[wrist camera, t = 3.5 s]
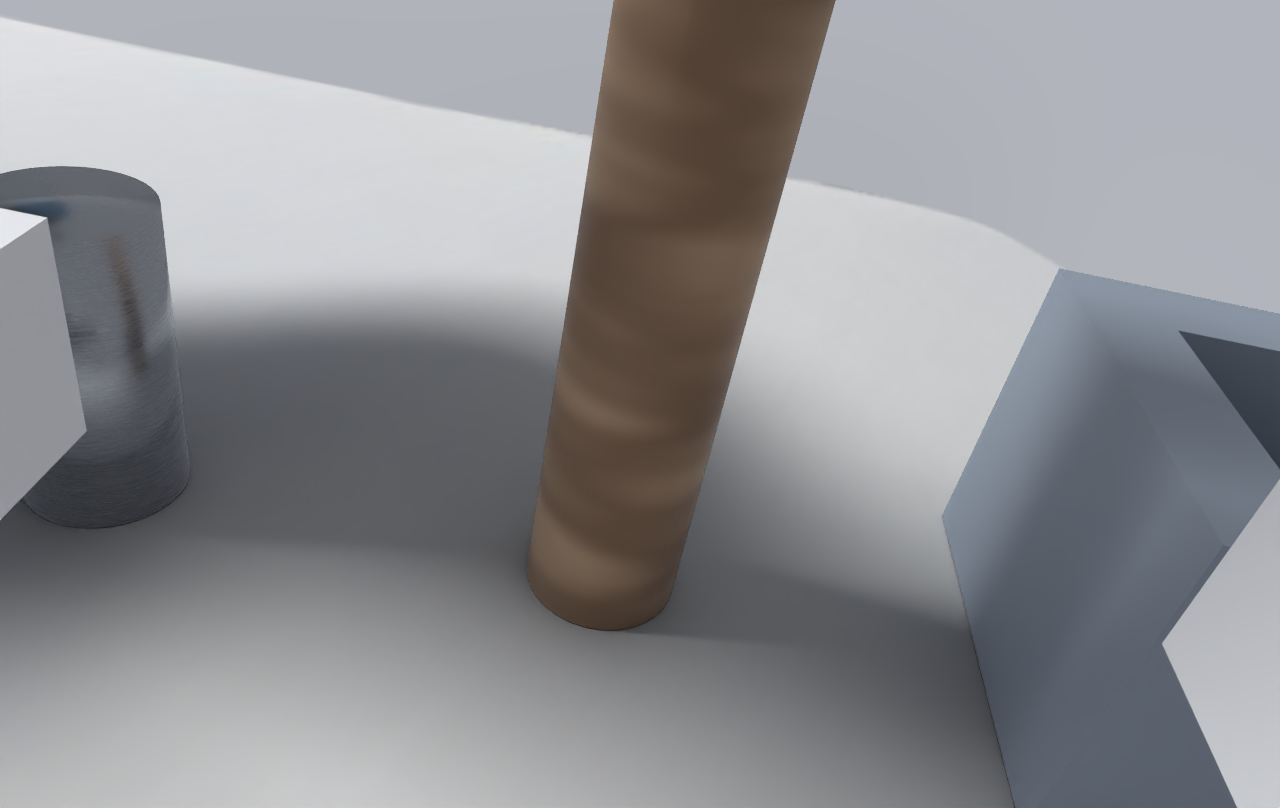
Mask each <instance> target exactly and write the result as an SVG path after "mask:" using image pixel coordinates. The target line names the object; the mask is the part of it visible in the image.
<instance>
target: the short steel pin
mask: <svg viewBox="0 0 1280 808" xmlns="http://www.w3.org/2000/svg"><path fill="white" fill-rule="evenodd" d="M0 208H2V209H7V210H12V211H17V212H22V213H27V214H32V215H37V216H42V217H47V219H48V224H49V230H50V235H51V241H52V246H53V251H54V257H55V262H56V268H57V273H58V278H59V284H60V289H61V295H62V300H63V305H64V311H65V316H66V322H67V327H68V332H69V338H70V343H71V349H72V354H73V359H74V365H75V370H76V376H77V381H78V387H79V392H80V397H81V403H82V408H83V414H84V419H85V424H86V430H87V431H86V432H85V433H84V434H83V435H82V436H81V437H80V438H79V439H78V441H77V442H76V443H75V444H74V445H73V446H72V447H71V448H70V449H69V450H68V451H67V452H66V453H65V454H64V455H63V456H62V457H61V458H60V459H59V460H58V461H57V462H56V463H55V464H54V465H53V466H52V467H51V468H50V469H49V470H48V471H47V472H46V474H45V475H44V476H43V477H42V478H41V479H40V480H39V481H38V482H37V483H36V484H35V485H34V486H33V487H32V488H31V489H30V490H29V491H28V492H27V493H26V494H25V495H24V496H23V498H24V501H25V502H26V504H27V506H28V507H29V508H30V509H31V510H32V511H33V512H34V513H36V514H37V515H38V516H40V517H42V518H44V519H45V520H47V521H50V522H53V523H56V524H59V525H63V526H69V527H76V528H103V527H112V526H117V525H123V524H127V523H130V522H134V521H137V520H140V519H143V518H145V517H147V516H150V515H152V514H154V513H156V512H158V511H159V510H161V509H163V508H164V507H166V506H167V505H169V504H170V503H171V502H172V501H174V500H175V499H176V498H177V497H178V496H179V495H180V494H181V492H182V491H183V490H184V488H185V487H186V485H187V482H188V480H189V476H190V462H189V453H188V444H187V435H186V426H185V418H184V409H183V400H182V391H181V382H180V373H179V364H178V355H177V346H176V337H175V328H174V320H173V311H172V302H171V293H170V284H169V275H168V266H167V257H166V248H165V239H164V230H163V221H162V213H161V204H160V199H159V196H158V195H157V193H156V192H155V191H154V190H153V189H152V188H151V187H150V186H148V185H147V184H145V183H144V182H142V181H140V180H138V179H135V178H133V177H130V176H127V175H124V174H121V173H117V172H113V171H108V170H102V169H95V168H87V167H69V166H56V167H38V168H29V169H22V170H16V171H11V172H6V173H2V174H0Z"/></svg>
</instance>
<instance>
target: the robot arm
mask: <svg viewBox="0 0 1280 808" xmlns="http://www.w3.org/2000/svg"><path fill="white" fill-rule="evenodd" d="M86 431H87V430H86V424H85V419H84V414H83V408H82V403H81V397H80V392H79V387H78V381H77V376H76V370H75V365H74V359H73V354H72V349H71V343H70V338H69V332H68V327H67V322H66V316H65V311H64V305H63V300H62V295H61V289H60V284H59V278H58V273H57V268H56V262H55V257H54V251H53V246H52V241H51V235H50V230H49V224H48V219H47V217H42V216H37V215H32V214H27V213H22V212H17V211H12V210H7V209H2V208H0V520H1V519H2V518H3V517H4V516H5V515H6V514H7V513H8V512H9V511H10V510H11V509H12V508H13V507H14V505H15V504H16V503H17V502H18V501H19V500H20V499H21V498H22V497H23V496H24V495H25V494H26V493H27V492H28V491H29V490H30V489H31V488H32V487H33V486H34V485H35V484H36V483H37V482H38V481H39V480H40V479H41V478H42V477H43V476H44V475H45V474H46V472H47V471H48V470H49V469H50V468H51V467H52V466H53V465H54V464H55V463H56V462H57V461H58V460H59V459H60V458H61V457H62V456H63V455H64V454H65V453H66V452H67V451H68V450H69V449H70V448H71V447H72V446H73V445H74V444H75V443H76V442H77V441H78V439H79V438H80V437H81V436H82V435H83V434H84V433H85V432H86ZM1162 645H1163V647H1164V649H1165V651H1166V654H1167V656H1168V658H1169V660H1170V662H1171V665H1172V667H1173V669H1174V671H1175V673H1176V675H1177V678H1178V680H1179V682H1180V684H1181V686H1182V688H1183V691H1184V693H1185V695H1186V697H1187V699H1188V702H1189V704H1190V706H1191V708H1192V710H1193V712H1194V715H1195V717H1196V719H1197V721H1198V723H1199V726H1200V728H1201V730H1202V732H1203V734H1204V736H1205V739H1206V741H1207V743H1208V745H1209V747H1210V749H1211V752H1212V754H1213V756H1214V758H1215V760H1216V763H1217V765H1218V767H1219V769H1220V771H1221V773H1222V776H1223V778H1224V780H1225V782H1226V784H1227V786H1228V789H1229V791H1230V793H1231V795H1232V797H1233V800H1234V802H1235V804H1236V806H1237V808H1280V479H1279V481H1278V482H1277V484H1276V485H1275V486H1274V488H1273V489H1272V491H1271V492H1270V493H1269V495H1268V496H1267V498H1266V499H1265V500H1264V502H1263V503H1262V505H1261V506H1260V507H1259V509H1258V510H1257V512H1256V513H1255V514H1254V516H1253V517H1252V518H1251V520H1250V521H1249V523H1248V524H1247V525H1246V527H1245V528H1244V530H1243V531H1242V532H1241V534H1240V535H1239V537H1238V538H1237V539H1236V541H1235V542H1234V544H1233V545H1232V546H1231V548H1230V549H1229V551H1228V552H1227V553H1226V555H1225V556H1224V558H1223V559H1222V560H1221V562H1220V563H1219V565H1218V566H1217V567H1216V569H1215V570H1214V572H1213V573H1212V574H1211V576H1210V577H1209V579H1208V580H1207V581H1206V583H1205V584H1204V586H1203V587H1202V588H1201V590H1200V591H1199V593H1198V594H1197V595H1196V597H1195V598H1194V599H1193V601H1192V602H1191V604H1190V605H1189V606H1188V608H1187V609H1186V611H1185V612H1184V613H1183V615H1182V616H1181V618H1180V619H1179V620H1178V622H1177V623H1176V625H1175V626H1174V627H1173V629H1172V630H1171V632H1170V633H1169V634H1168V636H1167V637H1166V639H1165V640H1164V641H1163V643H1162Z"/></svg>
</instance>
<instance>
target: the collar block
mask: <svg viewBox="0 0 1280 808" xmlns="http://www.w3.org/2000/svg"><path fill="white" fill-rule="evenodd" d="M1279 479H1280V314H1278V313H1273V312H1268V311H1263V310H1258V309H1253V308H1248V307H1244V306H1238V305H1234V304H1229V303H1224V302H1219V301H1215V300H1210V299H1204V298H1200V297H1195V296H1190V295H1185V294H1181V293H1175V292H1171V291H1166V290H1161V289H1156V288H1151V287H1147V286H1141V285H1137V284H1132V283H1127V282H1122V281H1118V280H1113V279H1107V278H1103V277H1098V276H1093V275H1088V274H1083V273H1079V272H1074V271H1069V270H1064V269H1059V270H1058V272H1057V274H1056V277H1055V279H1054V281H1053V283H1052V285H1051V287H1050V289H1049V291H1048V293H1047V296H1046V298H1045V300H1044V302H1043V304H1042V306H1041V308H1040V310H1039V312H1038V315H1037V317H1036V319H1035V321H1034V323H1033V325H1032V327H1031V329H1030V331H1029V334H1028V336H1027V338H1026V340H1025V342H1024V344H1023V346H1022V348H1021V351H1020V353H1019V355H1018V357H1017V359H1016V361H1015V363H1014V365H1013V367H1012V370H1011V372H1010V374H1009V376H1008V378H1007V380H1006V382H1005V384H1004V386H1003V389H1002V391H1001V393H1000V395H999V397H998V399H997V401H996V403H995V405H994V408H993V410H992V412H991V414H990V416H989V418H988V420H987V422H986V424H985V427H984V429H983V431H982V433H981V435H980V437H979V439H978V441H977V443H976V446H975V448H974V450H973V452H972V454H971V456H970V458H969V460H968V462H967V465H966V467H965V469H964V471H963V473H962V475H961V477H960V479H959V481H958V484H957V486H956V488H955V490H954V492H953V494H952V496H951V498H950V501H949V503H948V505H947V507H946V509H945V511H944V513H943V515H942V517H943V521H944V525H945V529H946V533H947V537H948V541H949V545H950V549H951V553H952V557H953V561H954V565H955V569H956V573H957V577H958V581H959V585H960V589H961V593H962V597H963V601H964V605H965V609H966V613H967V617H968V621H969V625H970V630H971V634H972V638H973V642H974V646H975V650H976V654H977V658H978V662H979V666H980V670H981V674H982V678H983V682H984V686H985V690H986V694H987V698H988V702H989V706H990V710H991V714H992V718H993V722H994V726H995V730H996V734H997V738H998V742H999V746H1000V750H1001V754H1002V758H1003V762H1004V766H1005V770H1006V774H1007V778H1008V782H1009V786H1010V790H1011V794H1012V798H1013V802H1014V806H1015V808H1237V806H1236V804H1235V802H1234V800H1233V797H1232V795H1231V793H1230V791H1229V789H1228V786H1227V784H1226V782H1225V780H1224V778H1223V776H1222V773H1221V771H1220V769H1219V767H1218V765H1217V763H1216V760H1215V758H1214V756H1213V754H1212V752H1211V749H1210V747H1209V745H1208V743H1207V741H1206V739H1205V736H1204V734H1203V732H1202V730H1201V728H1200V726H1199V723H1198V721H1197V719H1196V717H1195V715H1194V712H1193V710H1192V708H1191V706H1190V704H1189V702H1188V699H1187V697H1186V695H1185V693H1184V691H1183V688H1182V686H1181V684H1180V682H1179V680H1178V678H1177V675H1176V673H1175V671H1174V669H1173V667H1172V665H1171V662H1170V660H1169V658H1168V656H1167V654H1166V651H1165V649H1164V647H1163V645H1162V643H1163V641H1164V640H1165V639H1166V637H1167V636H1168V634H1169V633H1170V632H1171V630H1172V629H1173V627H1174V626H1175V625H1176V623H1177V622H1178V620H1179V619H1180V618H1181V616H1182V615H1183V613H1184V612H1185V611H1186V609H1187V608H1188V606H1189V605H1190V604H1191V602H1192V601H1193V599H1194V598H1195V597H1196V595H1197V594H1198V593H1199V591H1200V590H1201V588H1202V587H1203V586H1204V584H1205V583H1206V581H1207V580H1208V579H1209V577H1210V576H1211V574H1212V573H1213V572H1214V570H1215V569H1216V567H1217V566H1218V565H1219V563H1220V562H1221V560H1222V559H1223V558H1224V556H1225V555H1226V553H1227V552H1228V551H1229V549H1230V548H1231V546H1232V545H1233V544H1234V542H1235V541H1236V539H1237V538H1238V537H1239V535H1240V534H1241V532H1242V531H1243V530H1244V528H1245V527H1246V525H1247V524H1248V523H1249V521H1250V520H1251V518H1252V517H1253V516H1254V514H1255V513H1256V512H1257V510H1258V509H1259V507H1260V506H1261V505H1262V503H1263V502H1264V500H1265V499H1266V498H1267V496H1268V495H1269V493H1270V492H1271V491H1272V489H1273V488H1274V486H1275V485H1276V484H1277V482H1278V481H1279Z"/></svg>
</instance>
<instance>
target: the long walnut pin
mask: <svg viewBox="0 0 1280 808" xmlns="http://www.w3.org/2000/svg"><path fill="white" fill-rule="evenodd" d="M834 4H835V0H614V2H613V8H612V15H611V21H610V28H609V34H608V41H607V47H606V54H605V60H604V67H603V73H602V80H601V87H600V93H599V100H598V106H597V113H596V119H595V126H594V132H593V139H592V145H591V152H590V158H589V165H588V171H587V178H586V184H585V191H584V197H583V204H582V210H581V217H580V223H579V230H578V236H577V243H576V249H575V256H574V262H573V269H572V275H571V282H570V288H569V295H568V301H567V308H566V314H565V321H564V328H563V334H562V341H561V347H560V354H559V360H558V367H557V373H556V380H555V386H554V393H553V399H552V406H551V412H550V419H549V425H548V432H547V438H546V445H545V451H544V458H543V464H542V471H541V477H540V484H539V490H538V497H537V503H536V510H535V516H534V523H533V529H532V536H531V543H530V549H529V556H528V562H527V576H528V581H529V583H530V586H531V588H532V590H533V592H534V594H535V595H536V596H537V598H538V599H539V600H540V601H541V602H542V603H543V604H544V605H545V606H546V607H547V608H548V609H549V610H550V611H552V612H553V613H554V614H556V615H558V616H559V617H561V618H563V619H565V620H567V621H569V622H571V623H574V624H577V625H580V626H583V627H588V628H592V629H599V630H620V629H626V628H631V627H634V626H638V625H640V624H643V623H645V622H647V621H649V620H650V619H652V618H654V617H655V616H656V615H657V614H658V613H660V611H661V610H662V609H663V608H664V607H665V605H666V604H667V602H668V600H669V598H670V595H671V592H672V588H673V584H674V581H675V577H676V574H677V570H678V566H679V563H680V559H681V556H682V552H683V548H684V545H685V541H686V537H687V534H688V530H689V527H690V523H691V519H692V516H693V512H694V509H695V505H696V501H697V498H698V494H699V491H700V487H701V483H702V480H703V476H704V473H705V469H706V465H707V462H708V458H709V455H710V451H711V447H712V444H713V440H714V437H715V433H716V429H717V426H718V422H719V418H720V415H721V411H722V408H723V404H724V400H725V397H726V393H727V390H728V386H729V382H730V379H731V375H732V372H733V368H734V364H735V361H736V357H737V354H738V350H739V346H740V343H741V339H742V336H743V332H744V328H745V325H746V321H747V318H748V314H749V310H750V307H751V303H752V299H753V296H754V292H755V289H756V285H757V281H758V278H759V274H760V271H761V267H762V263H763V260H764V256H765V253H766V249H767V245H768V242H769V238H770V235H771V231H772V227H773V224H774V220H775V217H776V213H777V209H778V206H779V202H780V199H781V195H782V191H783V188H784V184H785V180H786V177H787V173H788V170H789V166H790V162H791V159H792V155H793V152H794V148H795V144H796V141H797V136H798V134H799V130H800V126H801V123H802V119H803V116H804V112H805V108H806V105H807V101H808V97H809V94H810V90H811V87H812V83H813V79H814V75H815V72H816V69H817V65H818V61H819V58H820V54H821V50H822V47H823V43H824V40H825V36H826V32H827V29H828V25H829V22H830V18H831V14H832V11H833V7H834Z"/></svg>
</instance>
